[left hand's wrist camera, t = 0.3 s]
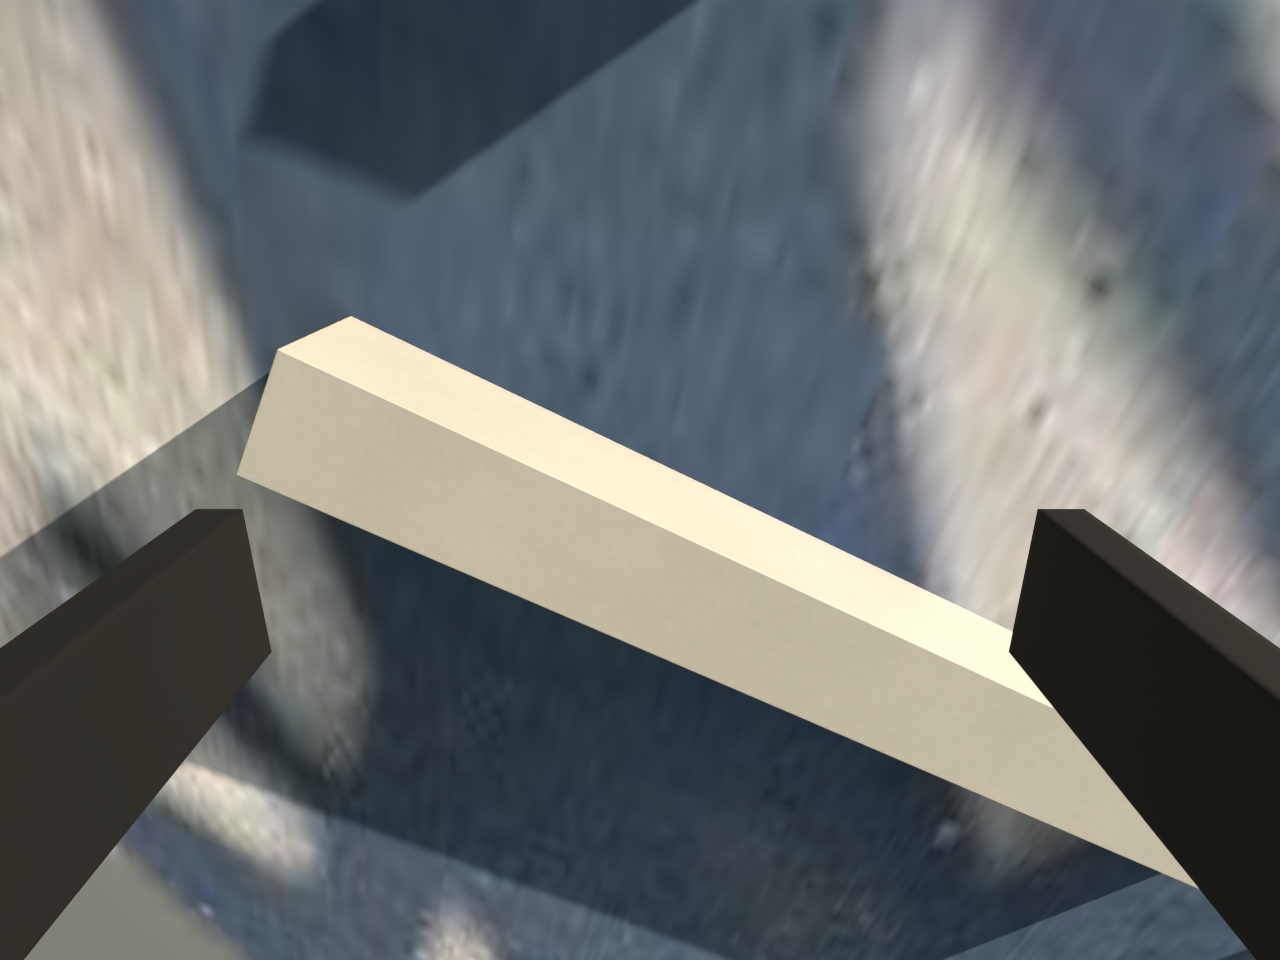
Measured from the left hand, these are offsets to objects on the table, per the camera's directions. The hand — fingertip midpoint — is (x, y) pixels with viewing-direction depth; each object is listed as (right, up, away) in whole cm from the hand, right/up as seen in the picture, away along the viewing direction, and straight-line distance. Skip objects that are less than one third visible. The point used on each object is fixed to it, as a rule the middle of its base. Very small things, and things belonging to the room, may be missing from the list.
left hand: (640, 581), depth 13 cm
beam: (+13, -6, +31) cm, 34 cm away
